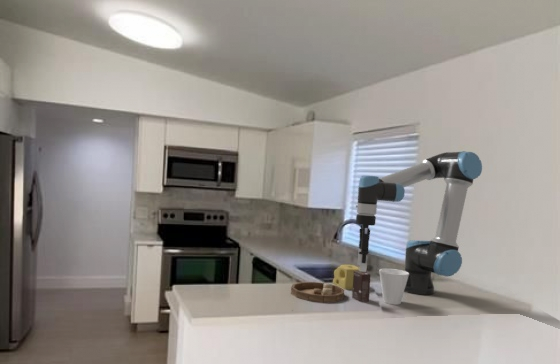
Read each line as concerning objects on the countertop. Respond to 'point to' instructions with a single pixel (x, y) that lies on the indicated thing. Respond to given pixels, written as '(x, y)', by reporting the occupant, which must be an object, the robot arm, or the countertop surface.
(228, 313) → the countertop surface
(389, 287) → the cup
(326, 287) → the bead
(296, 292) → the walnut tray
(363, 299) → the box
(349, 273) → the cheese
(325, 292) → the bead
